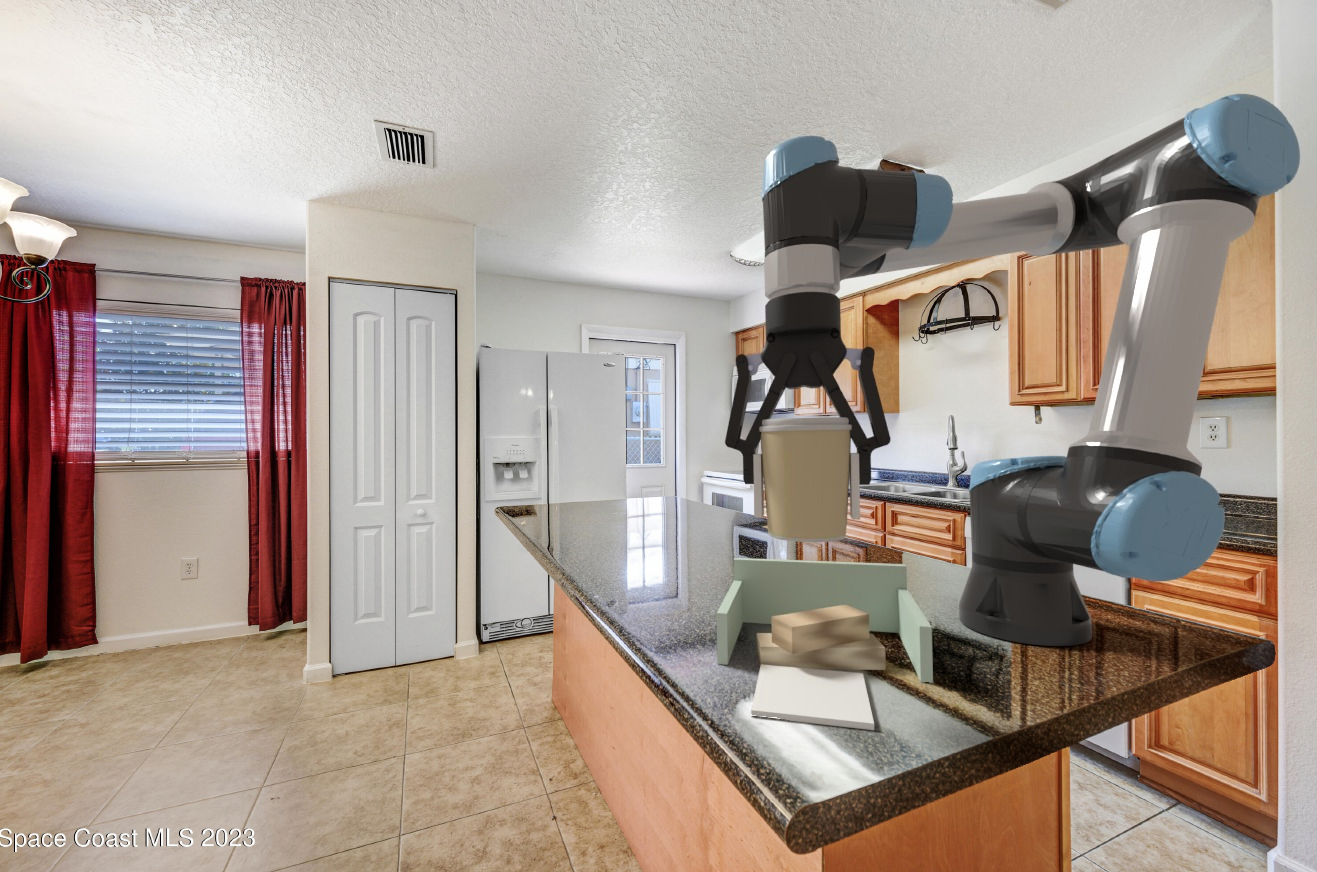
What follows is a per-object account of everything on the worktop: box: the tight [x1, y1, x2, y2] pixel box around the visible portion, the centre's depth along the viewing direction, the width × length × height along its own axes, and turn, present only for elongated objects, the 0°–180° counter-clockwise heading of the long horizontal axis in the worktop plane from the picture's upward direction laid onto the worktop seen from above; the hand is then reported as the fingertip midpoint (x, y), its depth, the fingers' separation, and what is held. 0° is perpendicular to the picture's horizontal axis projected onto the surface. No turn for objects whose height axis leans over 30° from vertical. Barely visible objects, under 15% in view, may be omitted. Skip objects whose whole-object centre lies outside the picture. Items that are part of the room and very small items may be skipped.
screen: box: [716, 557, 934, 684], centre depth 70 cm, size 23×17×9 cm
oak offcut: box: [771, 605, 870, 654], centre depth 65 cm, size 11×4×3 cm, turn 112°
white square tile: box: [750, 664, 875, 731], centre depth 56 cm, size 11×11×1 cm
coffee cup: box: [759, 416, 852, 543], centre depth 57 cm, size 9×9×12 cm
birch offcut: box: [756, 632, 887, 671], centre depth 65 cm, size 14×4×3 cm, turn 86°
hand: (806, 516), depth 57 cm, fingers closed on coffee cup, 9 cm apart
